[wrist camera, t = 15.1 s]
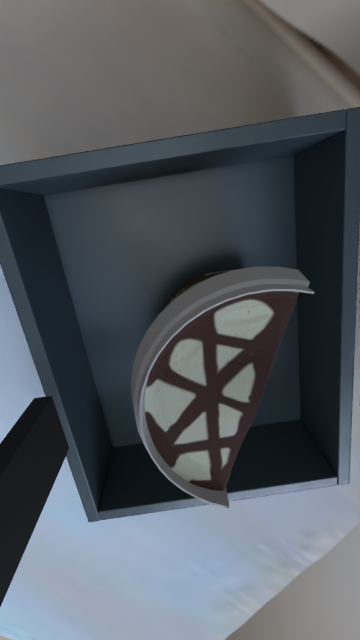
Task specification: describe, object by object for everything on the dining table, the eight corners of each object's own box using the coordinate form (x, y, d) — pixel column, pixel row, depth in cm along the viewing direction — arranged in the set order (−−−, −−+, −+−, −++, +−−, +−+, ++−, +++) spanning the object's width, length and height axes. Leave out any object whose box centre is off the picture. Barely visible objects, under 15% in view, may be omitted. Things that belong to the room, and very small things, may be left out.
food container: (164, 228, 20) (161, 237, 11) (251, 250, 21) (320, 278, 12) (128, 386, 24) (102, 497, 15) (203, 401, 25) (225, 516, 15)
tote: (301, 141, 19) (364, 105, 13) (306, 420, 26) (349, 484, 20) (31, 185, 20) (-33, 170, 13) (107, 451, 27) (88, 522, 20)
